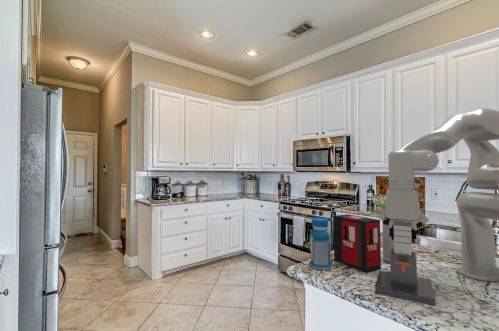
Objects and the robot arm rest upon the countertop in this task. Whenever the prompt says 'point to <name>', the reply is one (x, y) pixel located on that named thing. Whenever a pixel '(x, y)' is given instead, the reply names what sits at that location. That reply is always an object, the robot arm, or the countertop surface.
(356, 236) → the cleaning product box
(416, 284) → the stand
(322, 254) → the beverage bottle
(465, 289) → the countertop surface
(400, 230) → the post
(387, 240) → the travel mug
